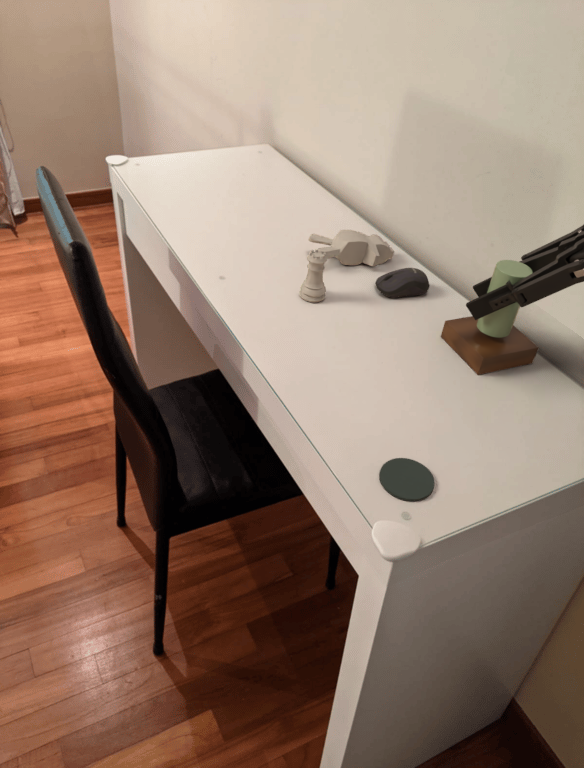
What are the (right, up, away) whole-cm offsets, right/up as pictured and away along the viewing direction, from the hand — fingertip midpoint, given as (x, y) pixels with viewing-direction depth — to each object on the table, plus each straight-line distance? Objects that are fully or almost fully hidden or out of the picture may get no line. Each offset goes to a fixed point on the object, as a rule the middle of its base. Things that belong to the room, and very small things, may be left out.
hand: (474, 302), depth 90 cm
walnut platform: (+3, -7, +4) cm, 8 cm away
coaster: (-13, -23, -18) cm, 33 cm away
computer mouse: (-8, +4, +16) cm, 18 cm away
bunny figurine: (-16, +11, +23) cm, 30 cm away
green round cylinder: (+3, -4, +1) cm, 5 cm away
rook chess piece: (-23, +2, +12) cm, 26 cm away
